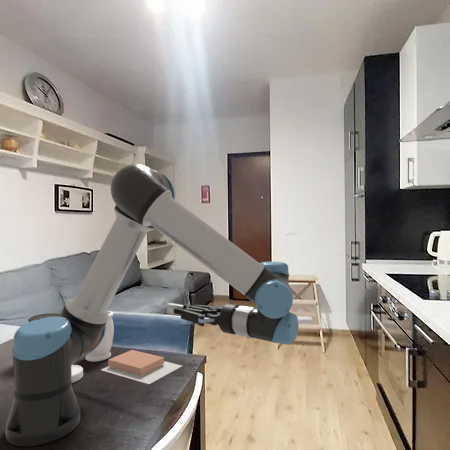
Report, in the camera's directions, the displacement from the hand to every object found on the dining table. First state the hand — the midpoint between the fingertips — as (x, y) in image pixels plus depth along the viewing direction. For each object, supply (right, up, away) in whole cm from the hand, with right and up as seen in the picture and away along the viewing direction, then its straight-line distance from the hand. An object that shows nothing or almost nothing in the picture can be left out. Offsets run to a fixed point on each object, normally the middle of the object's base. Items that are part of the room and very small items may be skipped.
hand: (168, 308), depth 107 cm
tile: (-5, -18, +3) cm, 19 cm away
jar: (-27, -21, +18) cm, 38 cm away
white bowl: (-30, -22, -1) cm, 37 cm away
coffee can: (-45, -21, +18) cm, 53 cm away
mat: (-9, -21, +6) cm, 23 cm away
